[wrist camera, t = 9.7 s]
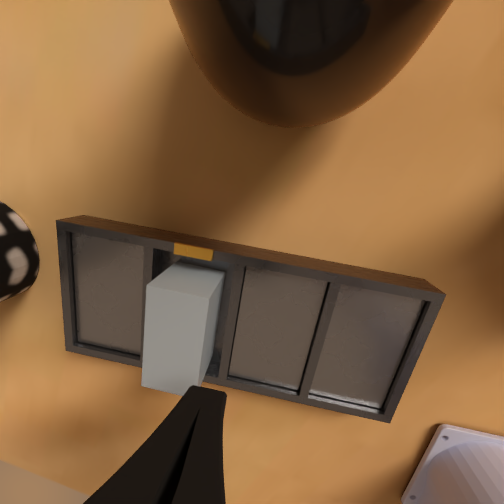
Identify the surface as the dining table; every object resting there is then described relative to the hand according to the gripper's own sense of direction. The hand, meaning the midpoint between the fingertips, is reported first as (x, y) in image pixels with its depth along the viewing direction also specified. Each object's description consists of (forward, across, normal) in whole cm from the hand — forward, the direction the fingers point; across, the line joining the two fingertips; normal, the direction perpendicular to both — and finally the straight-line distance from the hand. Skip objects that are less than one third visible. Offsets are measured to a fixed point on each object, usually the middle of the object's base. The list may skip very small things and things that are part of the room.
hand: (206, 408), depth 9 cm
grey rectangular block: (+9, +3, +2) cm, 9 cm away
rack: (+9, 0, +1) cm, 9 cm away
